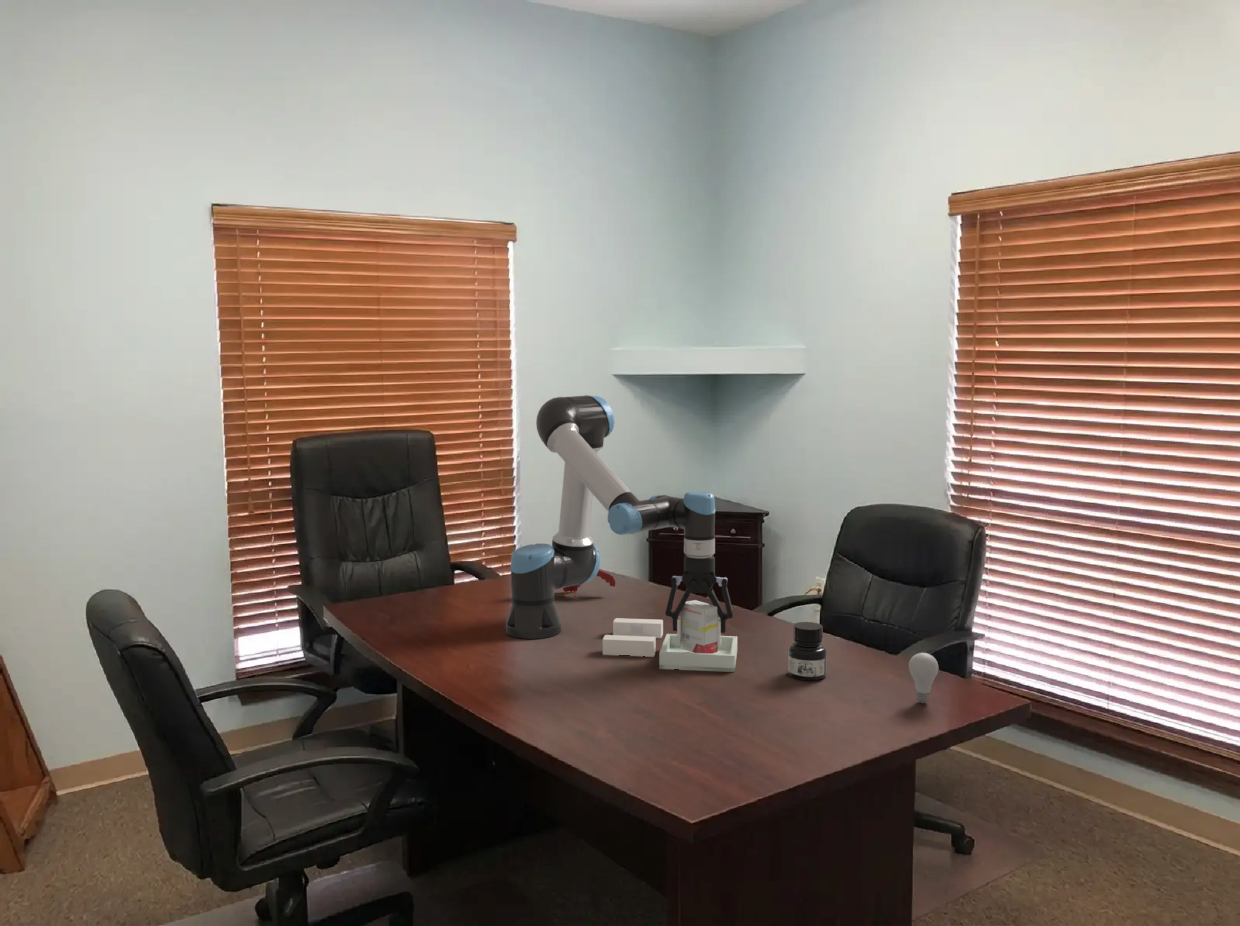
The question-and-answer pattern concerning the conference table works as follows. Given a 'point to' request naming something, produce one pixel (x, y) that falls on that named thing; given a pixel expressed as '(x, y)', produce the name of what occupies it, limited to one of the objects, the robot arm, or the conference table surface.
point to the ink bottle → (807, 652)
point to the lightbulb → (923, 674)
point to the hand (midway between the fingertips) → (699, 644)
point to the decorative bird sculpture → (603, 575)
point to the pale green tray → (698, 656)
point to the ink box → (699, 627)
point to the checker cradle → (633, 637)
